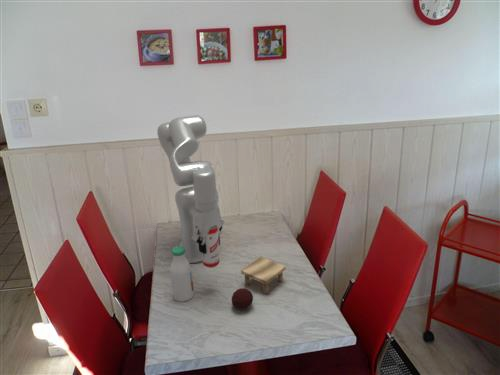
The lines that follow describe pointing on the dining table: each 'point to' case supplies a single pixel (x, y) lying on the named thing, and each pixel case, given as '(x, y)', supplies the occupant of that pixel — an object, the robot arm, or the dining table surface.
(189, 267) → the milk bottle
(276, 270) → the stool
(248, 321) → the dining table surface
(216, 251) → the beer can
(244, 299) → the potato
